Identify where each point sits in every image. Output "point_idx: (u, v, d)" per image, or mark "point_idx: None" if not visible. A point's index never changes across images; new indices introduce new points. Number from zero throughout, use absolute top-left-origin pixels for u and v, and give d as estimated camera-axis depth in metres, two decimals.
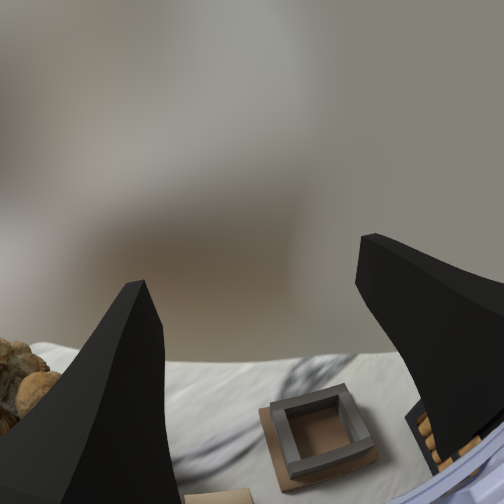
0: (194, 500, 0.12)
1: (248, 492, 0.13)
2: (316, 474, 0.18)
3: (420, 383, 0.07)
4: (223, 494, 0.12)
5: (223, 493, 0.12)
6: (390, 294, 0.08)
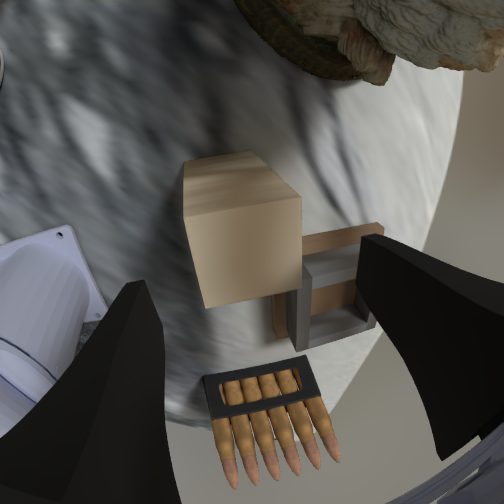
0: (289, 215, 0.10)
1: (294, 288, 0.12)
2: None
3: (419, 383, 0.07)
4: (296, 257, 0.11)
5: (298, 257, 0.11)
6: (390, 294, 0.08)
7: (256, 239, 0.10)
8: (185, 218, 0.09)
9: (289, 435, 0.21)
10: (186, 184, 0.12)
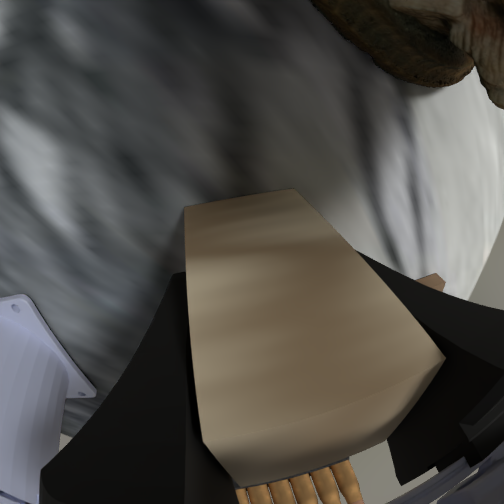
0: (415, 387, 0.04)
1: None
2: None
3: None
4: (396, 421, 0.05)
5: (398, 422, 0.05)
6: None
7: (347, 430, 0.04)
8: (207, 440, 0.03)
9: None
10: (192, 287, 0.06)
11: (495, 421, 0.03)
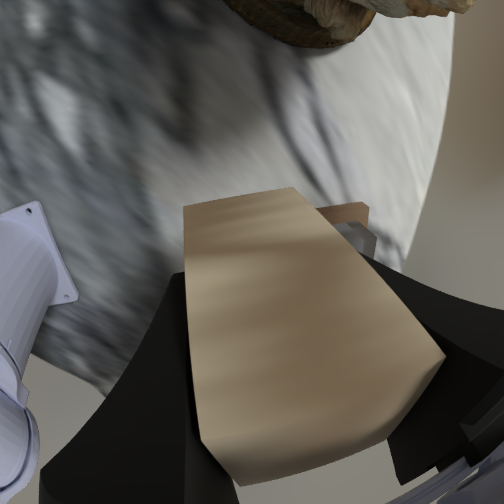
0: (415, 386, 0.04)
1: (375, 444, 0.06)
2: None
3: None
4: (396, 420, 0.05)
5: (399, 421, 0.05)
6: None
7: (346, 429, 0.04)
8: (205, 439, 0.03)
9: None
10: (191, 285, 0.06)
11: (495, 421, 0.03)
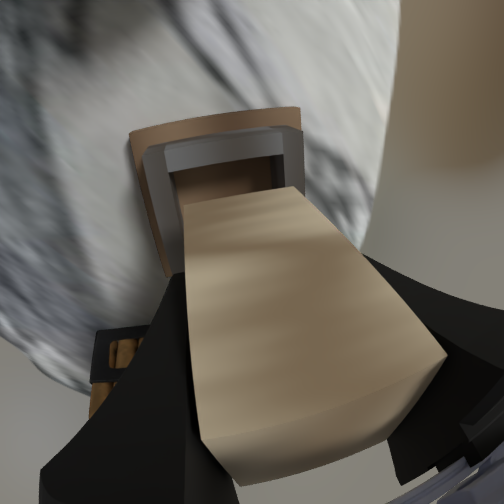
0: (417, 385, 0.04)
1: None
2: None
3: None
4: (397, 420, 0.05)
5: (400, 420, 0.05)
6: None
7: (347, 429, 0.04)
8: (206, 438, 0.03)
9: None
10: (191, 284, 0.06)
11: (495, 421, 0.03)
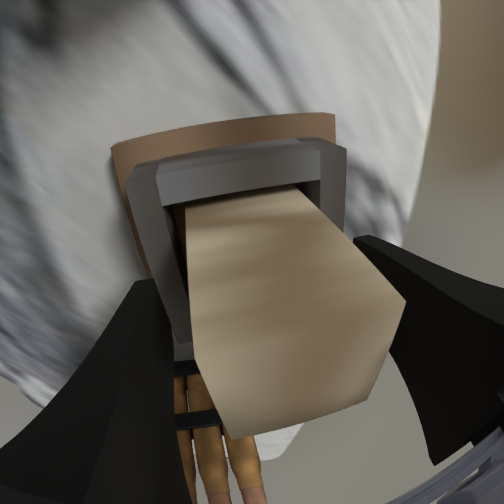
0: (381, 329, 0.05)
1: (357, 403, 0.07)
2: None
3: (412, 387, 0.07)
4: (372, 373, 0.06)
5: (375, 374, 0.06)
6: None
7: (322, 368, 0.05)
8: (198, 358, 0.04)
9: None
10: (191, 249, 0.07)
11: None
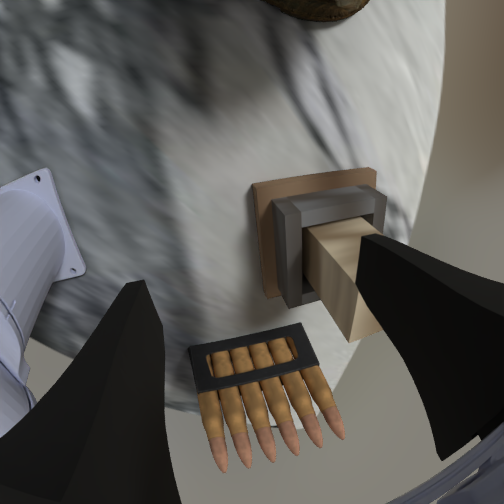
0: None
1: None
2: (270, 231, 0.19)
3: (419, 383, 0.07)
4: None
5: None
6: (390, 294, 0.08)
7: None
8: None
9: (285, 409, 0.19)
10: (328, 249, 0.15)
11: None
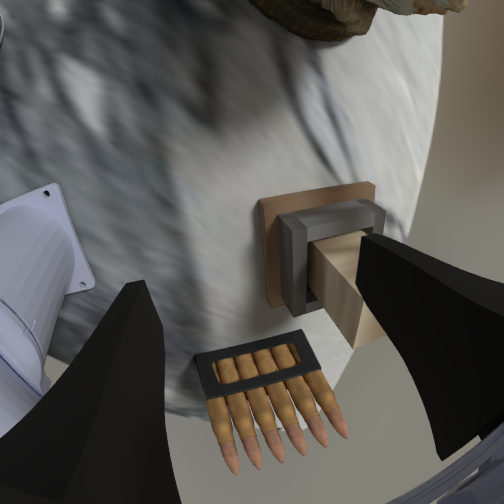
0: None
1: None
2: (276, 244, 0.20)
3: (419, 383, 0.07)
4: None
5: None
6: (390, 294, 0.08)
7: None
8: None
9: (291, 412, 0.20)
10: (333, 263, 0.16)
11: None
